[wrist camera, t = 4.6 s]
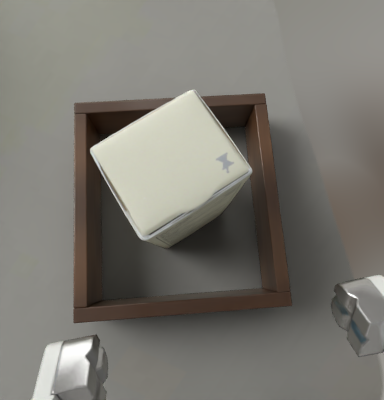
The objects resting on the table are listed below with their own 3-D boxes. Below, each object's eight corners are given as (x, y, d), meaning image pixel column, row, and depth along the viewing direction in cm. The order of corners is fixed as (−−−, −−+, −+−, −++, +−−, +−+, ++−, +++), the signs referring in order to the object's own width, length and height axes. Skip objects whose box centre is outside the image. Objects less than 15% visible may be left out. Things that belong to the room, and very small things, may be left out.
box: (192, 165, 23) (201, 81, 12) (224, 214, 23) (262, 169, 12) (131, 202, 23) (83, 146, 12) (162, 253, 22) (141, 244, 11)
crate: (275, 299, 22) (292, 305, 18) (91, 313, 21) (73, 323, 18) (253, 116, 24) (265, 92, 21) (89, 125, 24) (73, 102, 20)
